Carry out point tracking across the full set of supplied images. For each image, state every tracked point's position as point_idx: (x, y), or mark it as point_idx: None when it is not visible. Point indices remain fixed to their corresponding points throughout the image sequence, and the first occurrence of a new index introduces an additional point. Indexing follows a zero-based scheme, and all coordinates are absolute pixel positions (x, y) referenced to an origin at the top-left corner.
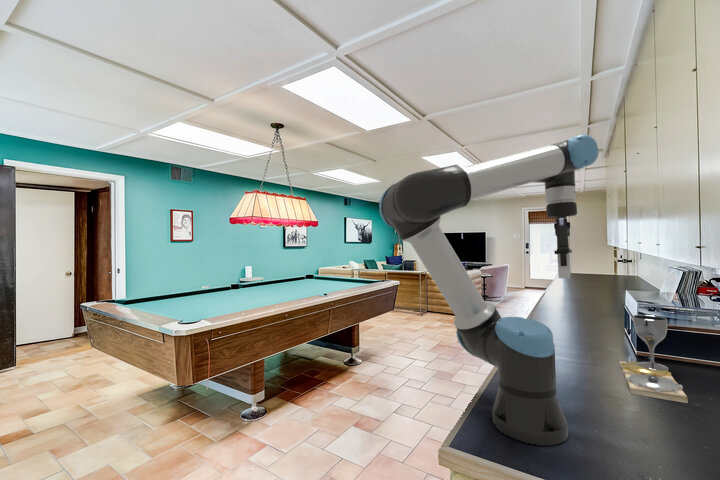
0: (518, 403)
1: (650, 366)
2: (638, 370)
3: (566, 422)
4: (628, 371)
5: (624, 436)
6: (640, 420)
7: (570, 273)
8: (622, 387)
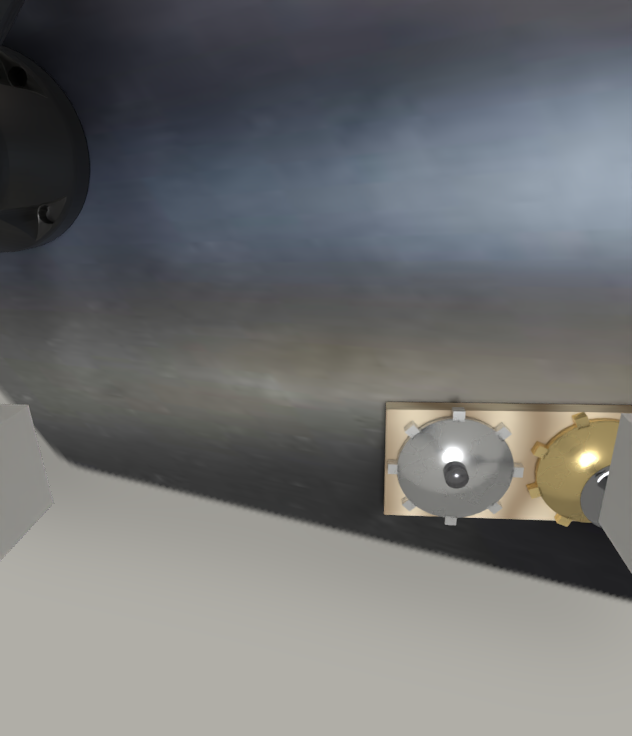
0: None
1: (600, 490)
2: (552, 452)
3: (1, 251)
4: (556, 423)
5: (105, 358)
6: (213, 397)
7: (605, 528)
8: (432, 387)
